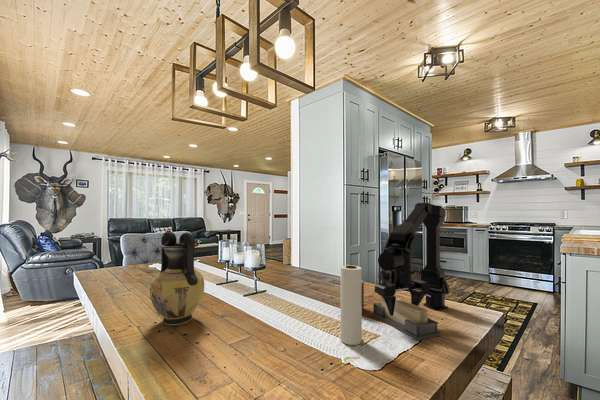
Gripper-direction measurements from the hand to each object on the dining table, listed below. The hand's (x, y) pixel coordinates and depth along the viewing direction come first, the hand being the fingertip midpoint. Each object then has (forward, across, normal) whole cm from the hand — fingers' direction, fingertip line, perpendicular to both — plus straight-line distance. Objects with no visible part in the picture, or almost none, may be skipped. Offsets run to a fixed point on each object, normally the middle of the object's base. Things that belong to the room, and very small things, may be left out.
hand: (402, 313), depth 94 cm
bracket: (+4, 0, 0) cm, 4 cm away
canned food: (+4, +8, -18) cm, 20 cm away
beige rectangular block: (+2, 0, 0) cm, 3 cm away
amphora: (+4, +70, -29) cm, 76 cm away
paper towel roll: (+4, +22, +4) cm, 23 cm away
